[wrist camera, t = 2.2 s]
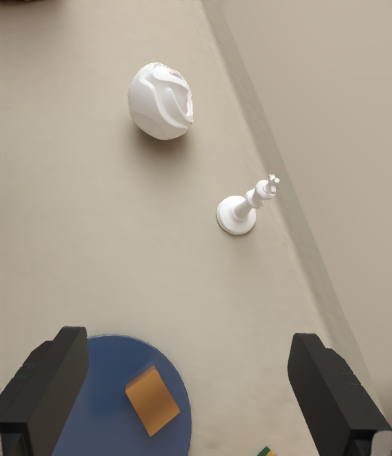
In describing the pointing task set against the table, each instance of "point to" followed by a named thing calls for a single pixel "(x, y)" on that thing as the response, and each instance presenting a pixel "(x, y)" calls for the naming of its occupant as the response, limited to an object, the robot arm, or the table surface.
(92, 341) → the plate
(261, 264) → the table surface
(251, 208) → the chess piece
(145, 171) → the table surface
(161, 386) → the orange brown rectangular block
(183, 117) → the white round lump
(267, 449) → the dish sponge
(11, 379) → the robot arm
